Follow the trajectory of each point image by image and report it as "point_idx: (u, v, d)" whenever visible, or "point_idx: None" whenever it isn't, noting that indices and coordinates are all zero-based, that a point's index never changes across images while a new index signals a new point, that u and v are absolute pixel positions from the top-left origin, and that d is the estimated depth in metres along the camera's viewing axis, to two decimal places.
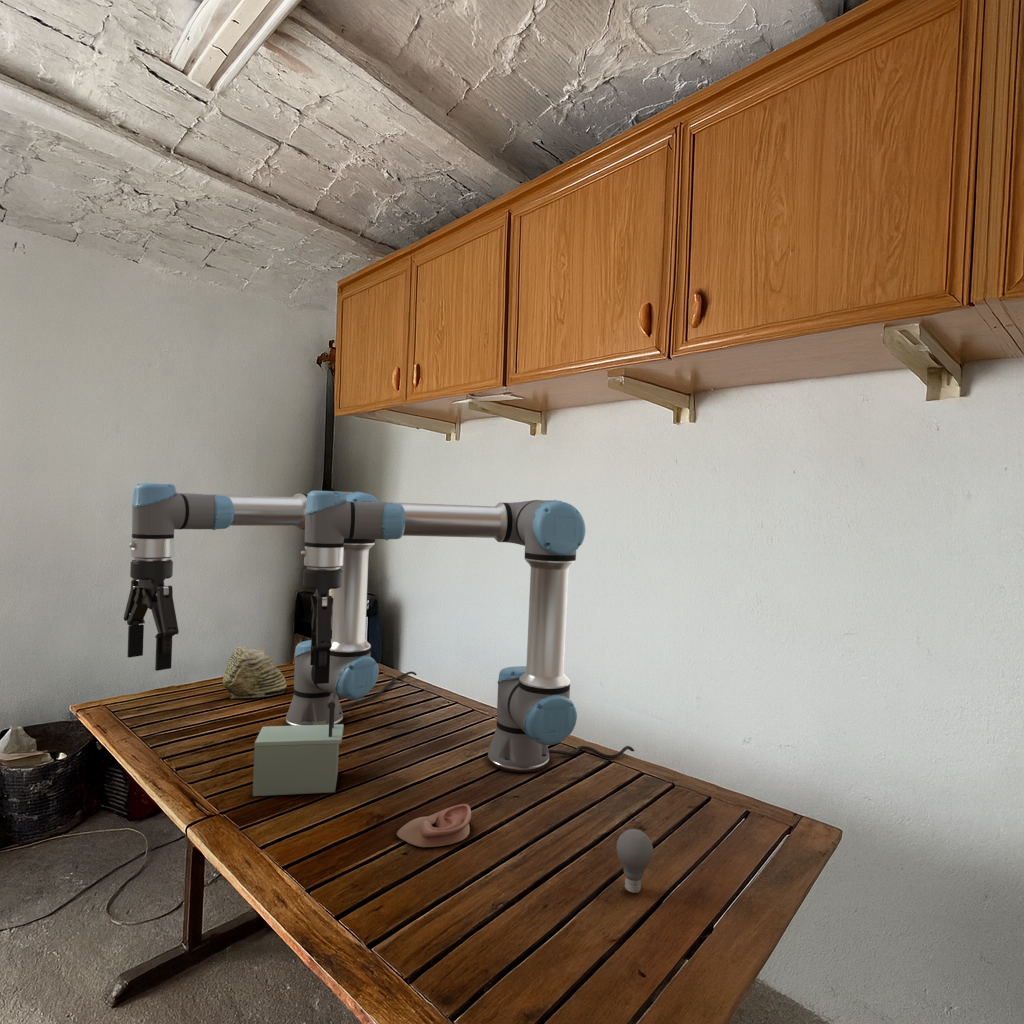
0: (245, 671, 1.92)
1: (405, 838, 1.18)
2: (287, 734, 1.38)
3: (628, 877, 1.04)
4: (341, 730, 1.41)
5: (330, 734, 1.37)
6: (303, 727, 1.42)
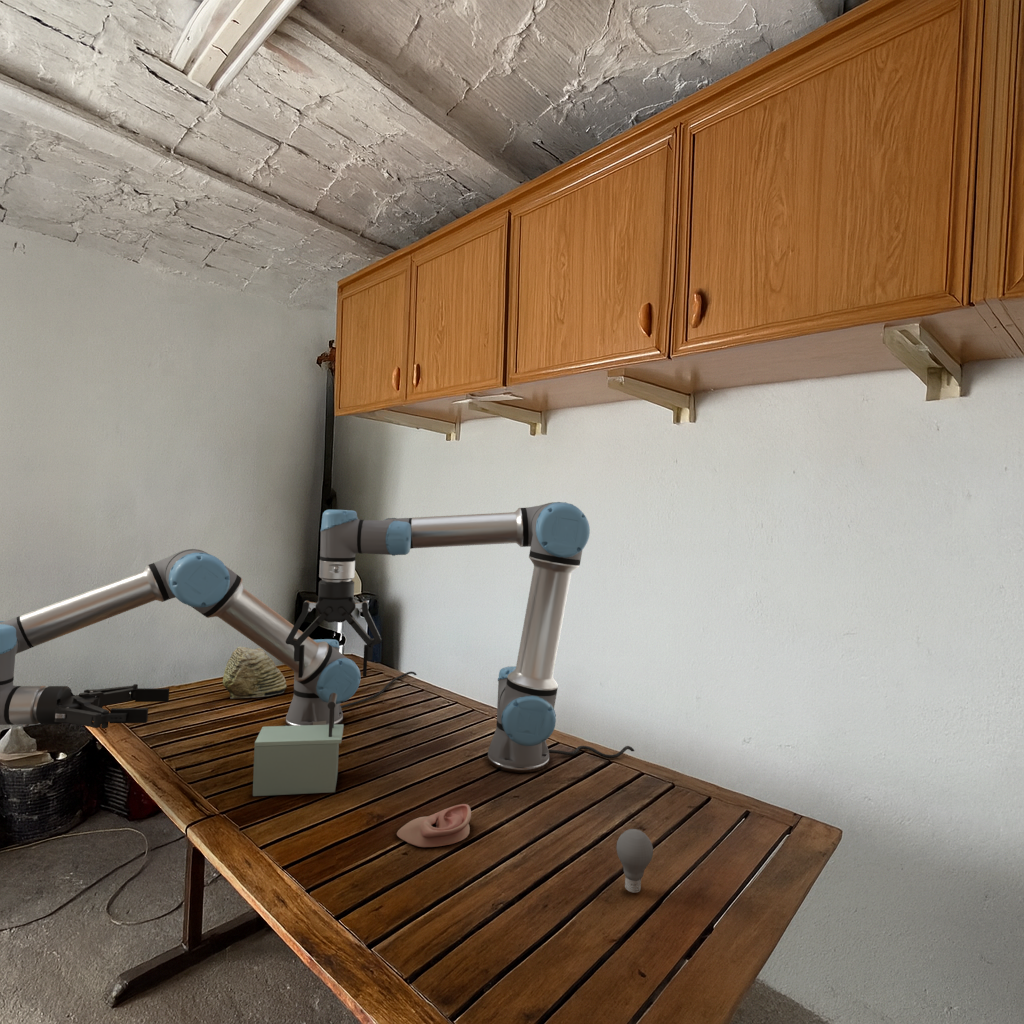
0: (245, 671, 1.92)
1: (405, 838, 1.18)
2: (287, 734, 1.38)
3: (628, 877, 1.04)
4: (341, 730, 1.41)
5: (330, 734, 1.37)
6: (303, 727, 1.42)
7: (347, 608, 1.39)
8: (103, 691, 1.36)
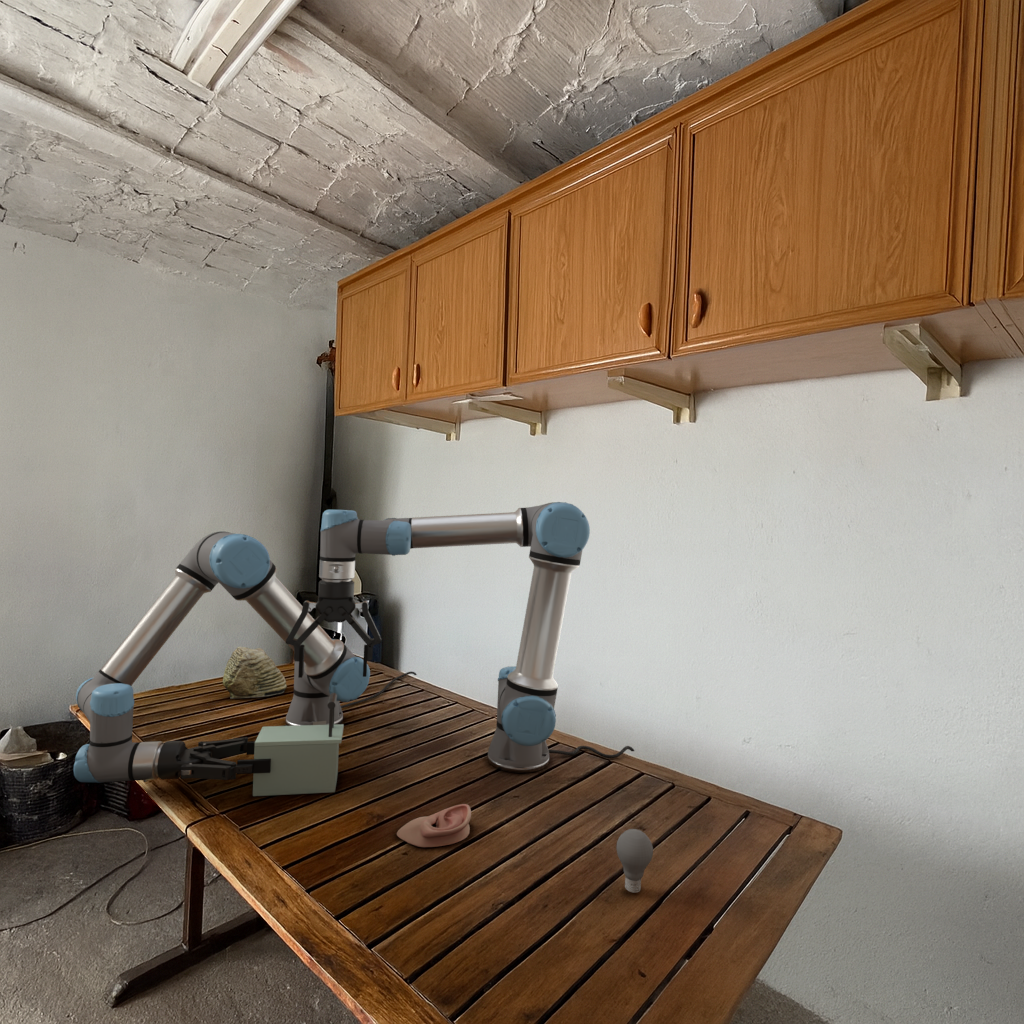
0: (245, 671, 1.92)
1: (405, 838, 1.18)
2: (287, 734, 1.38)
3: (628, 877, 1.04)
4: (341, 730, 1.41)
5: (330, 734, 1.37)
6: (303, 727, 1.42)
7: (347, 608, 1.39)
8: (215, 744, 1.41)
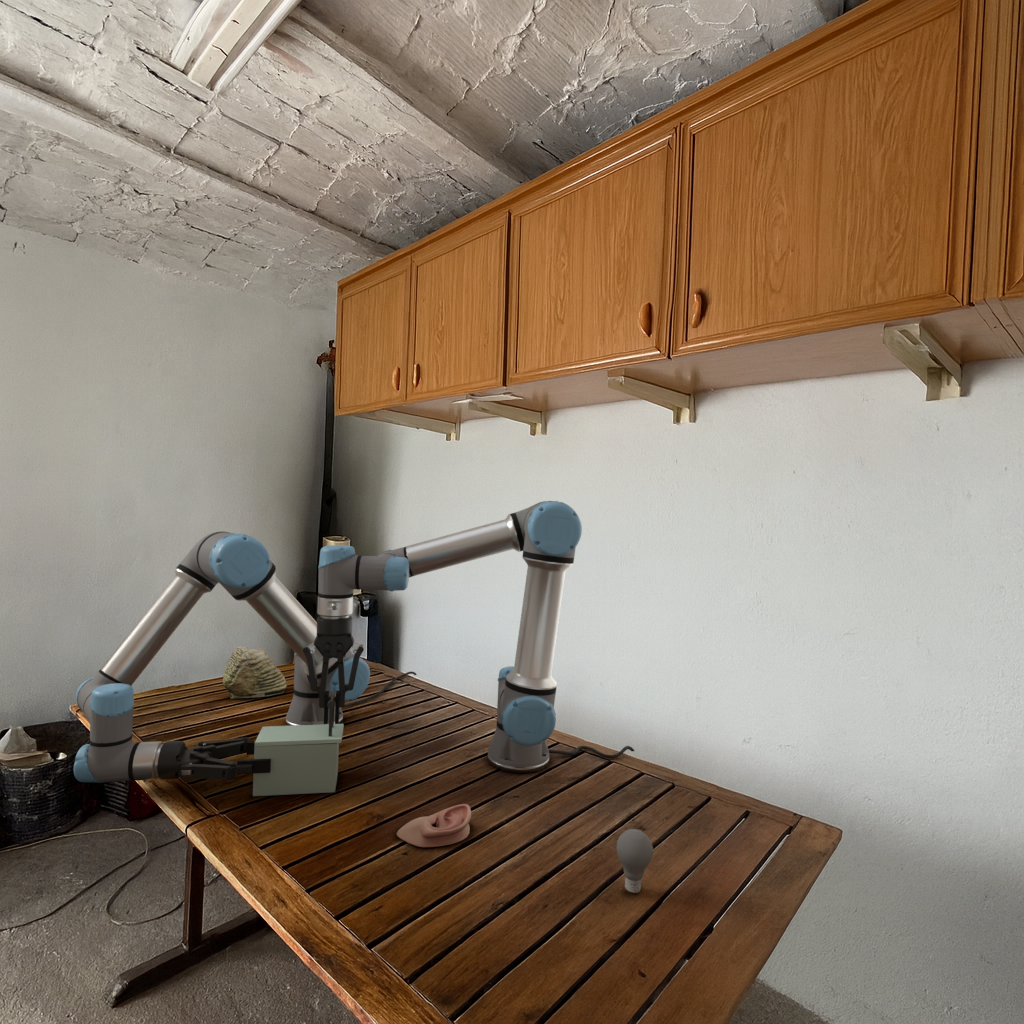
0: (245, 671, 1.92)
1: (405, 838, 1.18)
2: (287, 733, 1.38)
3: (628, 877, 1.04)
4: (341, 729, 1.41)
5: (330, 734, 1.37)
6: (303, 727, 1.42)
7: (345, 644, 1.39)
8: (215, 744, 1.41)
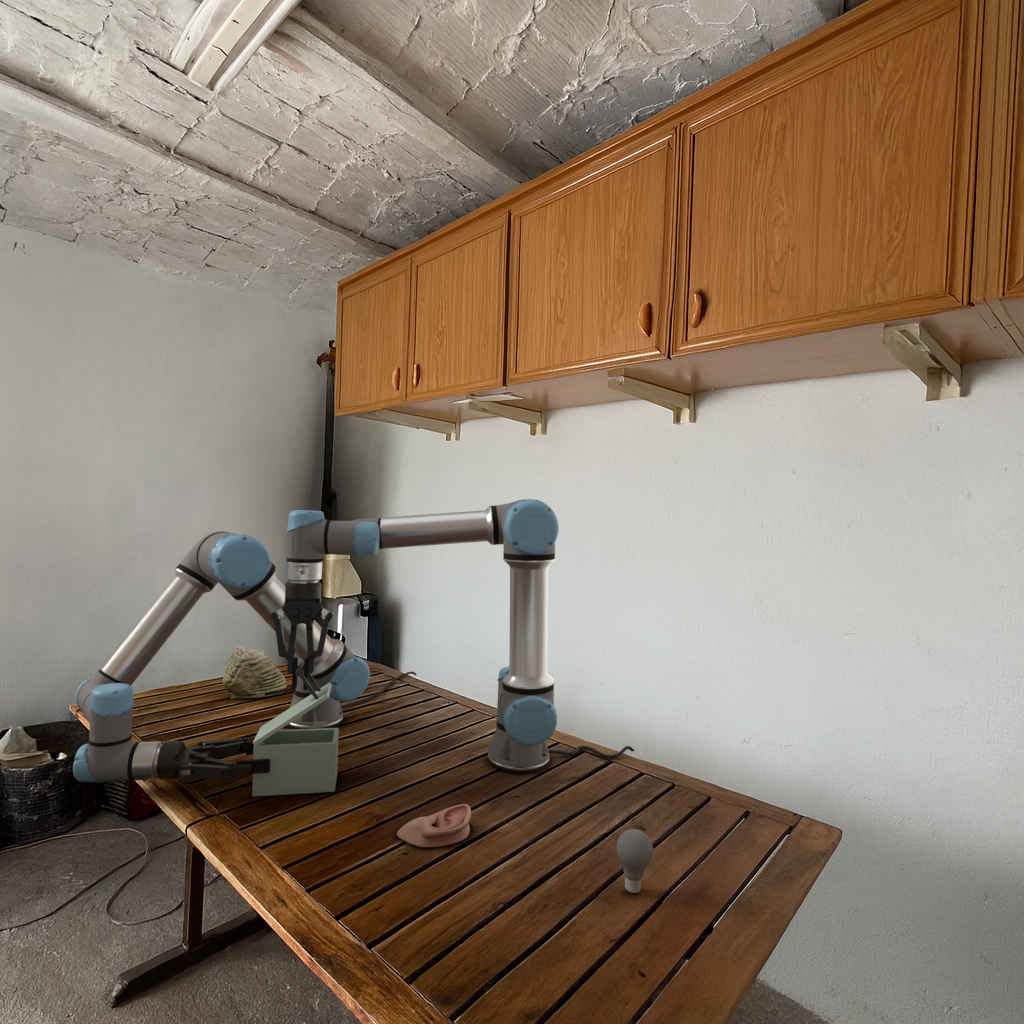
0: (245, 671, 1.92)
1: (405, 838, 1.18)
2: (280, 719, 1.37)
3: (628, 877, 1.04)
4: (327, 688, 1.40)
5: (315, 696, 1.36)
6: (295, 706, 1.41)
7: (314, 610, 1.38)
8: (214, 744, 1.41)
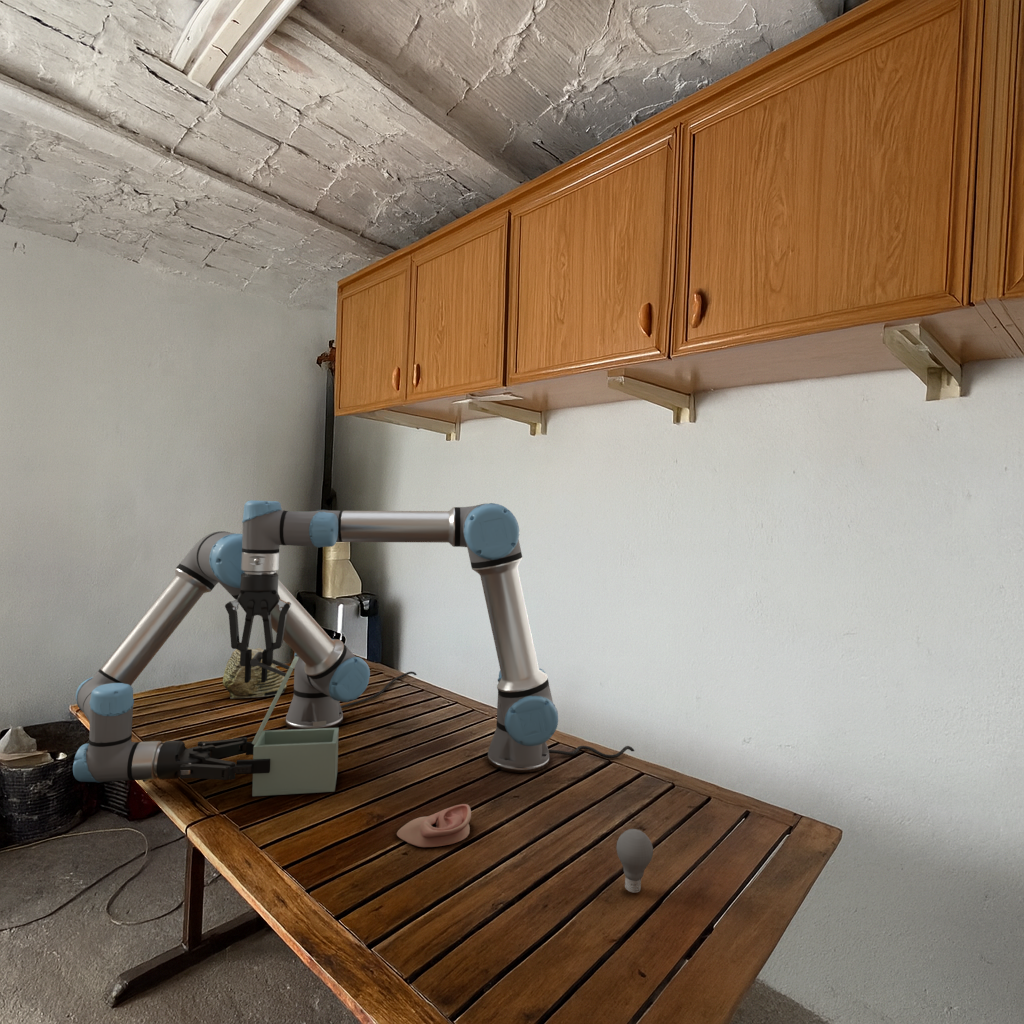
0: None
1: (405, 838, 1.18)
2: None
3: (628, 877, 1.04)
4: None
5: (283, 674, 1.35)
6: None
7: (270, 601, 1.36)
8: (214, 744, 1.41)
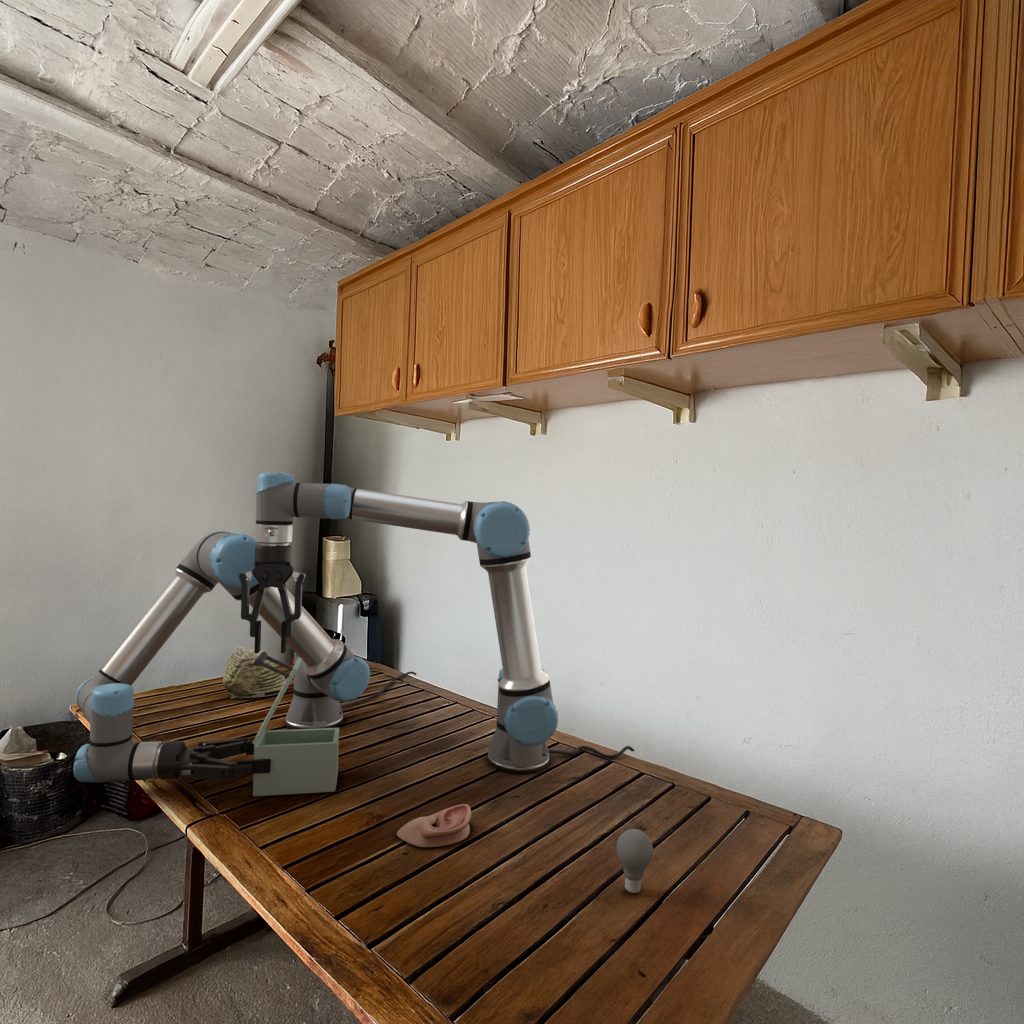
0: (245, 671, 1.92)
1: (405, 838, 1.18)
2: (269, 711, 1.37)
3: (628, 877, 1.04)
4: (296, 662, 1.39)
5: (286, 675, 1.35)
6: None
7: (284, 573, 1.36)
8: (215, 744, 1.41)
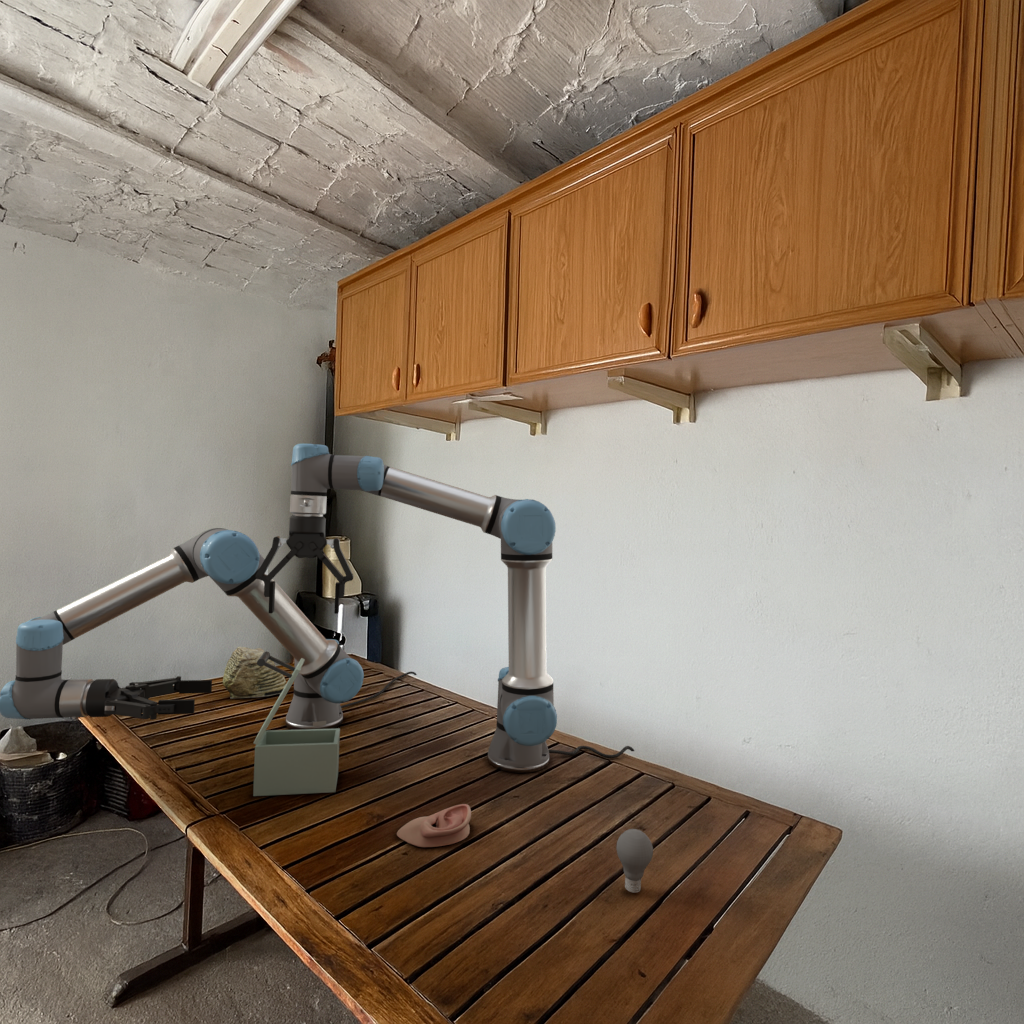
0: (245, 671, 1.92)
1: (405, 838, 1.18)
2: (271, 711, 1.37)
3: (628, 877, 1.04)
4: (298, 663, 1.39)
5: (289, 675, 1.35)
6: None
7: (318, 544, 1.37)
8: (148, 683, 1.38)
